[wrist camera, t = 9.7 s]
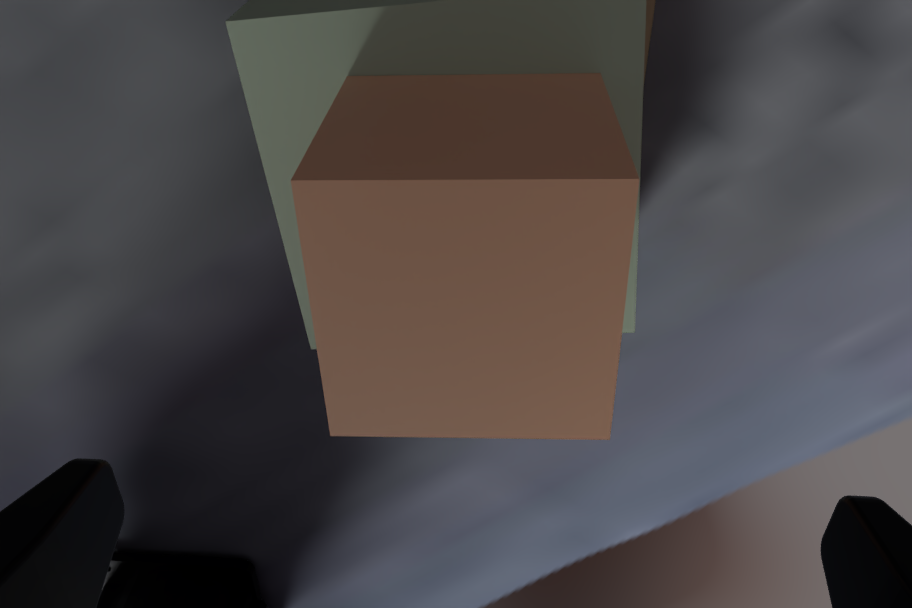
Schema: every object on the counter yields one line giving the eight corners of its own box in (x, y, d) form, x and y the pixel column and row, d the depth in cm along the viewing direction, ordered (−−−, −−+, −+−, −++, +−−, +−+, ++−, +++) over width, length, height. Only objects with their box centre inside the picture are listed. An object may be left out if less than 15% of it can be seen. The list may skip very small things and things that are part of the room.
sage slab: (329, 293, 21) (311, 349, 19) (258, -9, 17) (225, 21, 15) (621, 276, 21) (634, 332, 19) (628, -46, 16) (647, -19, 14)
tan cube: (369, 288, 18) (330, 436, 14) (346, 75, 15) (290, 180, 11) (583, 288, 18) (610, 439, 14) (600, 73, 15) (639, 178, 11)
